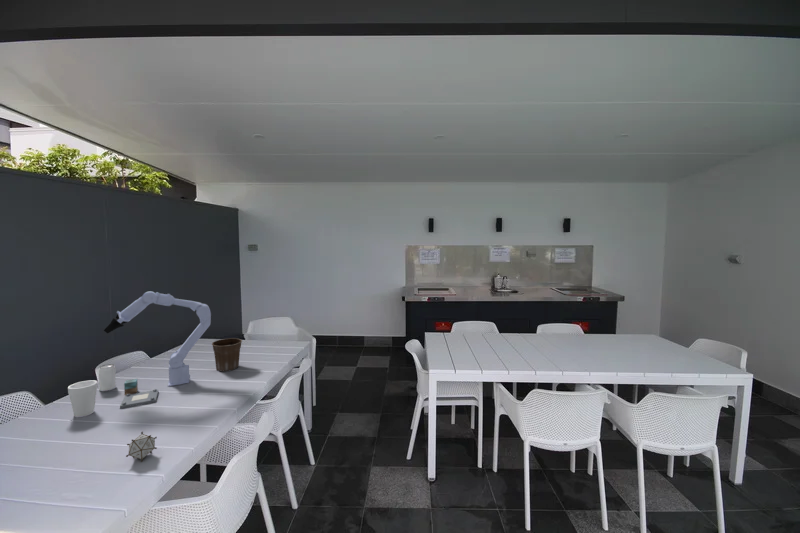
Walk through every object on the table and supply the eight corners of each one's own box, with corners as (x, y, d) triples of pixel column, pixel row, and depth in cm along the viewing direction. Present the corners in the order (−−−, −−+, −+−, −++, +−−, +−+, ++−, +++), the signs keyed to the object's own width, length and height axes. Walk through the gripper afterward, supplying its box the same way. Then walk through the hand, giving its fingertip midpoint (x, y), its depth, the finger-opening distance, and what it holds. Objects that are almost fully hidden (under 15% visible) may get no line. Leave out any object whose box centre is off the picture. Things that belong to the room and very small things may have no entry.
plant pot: (244, 369, 201) (244, 342, 200) (214, 375, 192) (213, 347, 191) (240, 361, 214) (239, 336, 213) (211, 366, 205) (210, 340, 204)
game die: (140, 466, 118) (140, 435, 122) (163, 456, 118) (163, 426, 123) (118, 468, 110) (119, 435, 114) (143, 458, 110) (143, 426, 115)
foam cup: (103, 410, 150) (102, 381, 149) (78, 420, 141) (76, 390, 140) (89, 407, 153) (88, 379, 152) (64, 416, 144) (62, 387, 143)
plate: (158, 391, 169) (158, 388, 169) (155, 401, 158) (155, 398, 158) (125, 397, 163) (125, 393, 162) (120, 408, 151) (119, 404, 151)
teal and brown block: (137, 390, 171) (137, 378, 171) (136, 393, 167) (135, 381, 167) (126, 392, 169) (125, 380, 169) (124, 395, 165) (124, 383, 165)
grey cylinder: (106, 392, 168) (105, 368, 168) (95, 391, 170) (94, 367, 169) (119, 387, 175) (118, 364, 174) (109, 385, 176) (108, 363, 175)
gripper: (128, 302, 174) (103, 321, 169) (123, 306, 162) (96, 327, 157) (140, 311, 177) (116, 331, 172) (136, 316, 165) (109, 337, 160)
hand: (107, 330), depth 165 cm, fingers open, 7 cm apart
